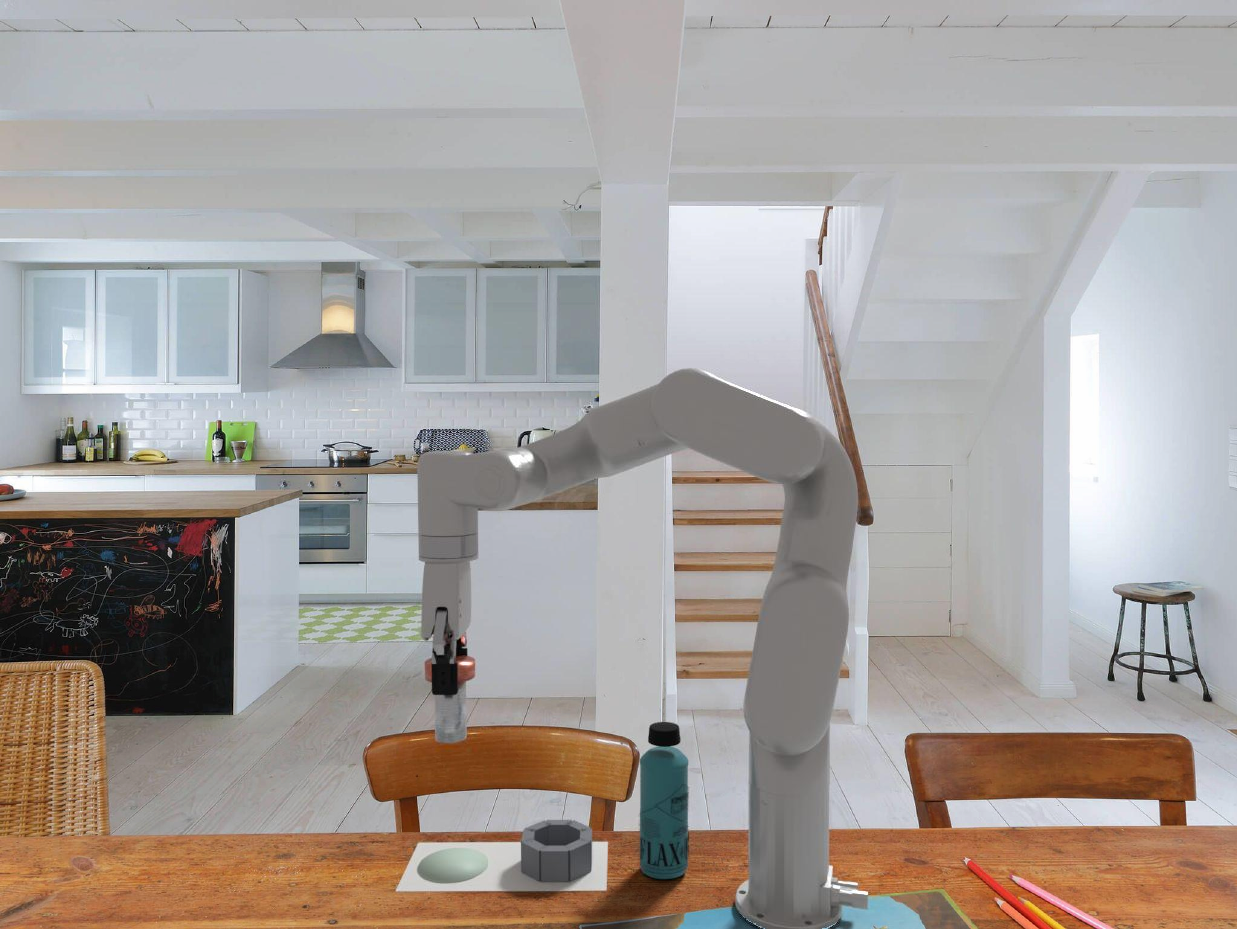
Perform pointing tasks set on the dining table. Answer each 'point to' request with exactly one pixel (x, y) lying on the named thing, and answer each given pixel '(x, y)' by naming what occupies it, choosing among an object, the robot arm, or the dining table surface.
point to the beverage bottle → (664, 805)
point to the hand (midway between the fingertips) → (450, 684)
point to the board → (512, 862)
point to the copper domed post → (452, 703)
